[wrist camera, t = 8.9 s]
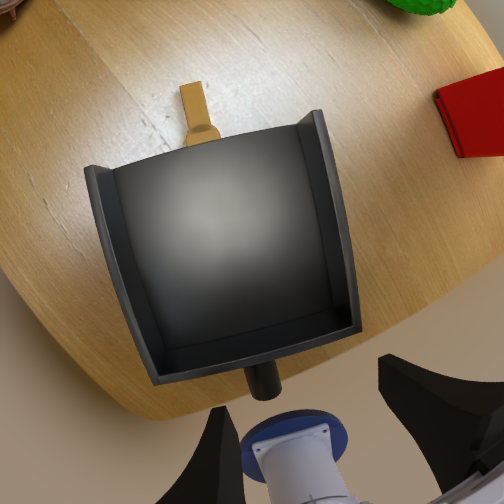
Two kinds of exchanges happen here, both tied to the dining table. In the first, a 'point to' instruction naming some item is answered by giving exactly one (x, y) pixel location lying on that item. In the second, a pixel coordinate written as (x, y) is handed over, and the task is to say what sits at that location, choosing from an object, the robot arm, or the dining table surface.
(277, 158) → the grey sheet metal tray
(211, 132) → the spoon
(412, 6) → the ornament
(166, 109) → the dining table surface
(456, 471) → the robot arm
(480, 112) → the french fries container
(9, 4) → the alarm clock
